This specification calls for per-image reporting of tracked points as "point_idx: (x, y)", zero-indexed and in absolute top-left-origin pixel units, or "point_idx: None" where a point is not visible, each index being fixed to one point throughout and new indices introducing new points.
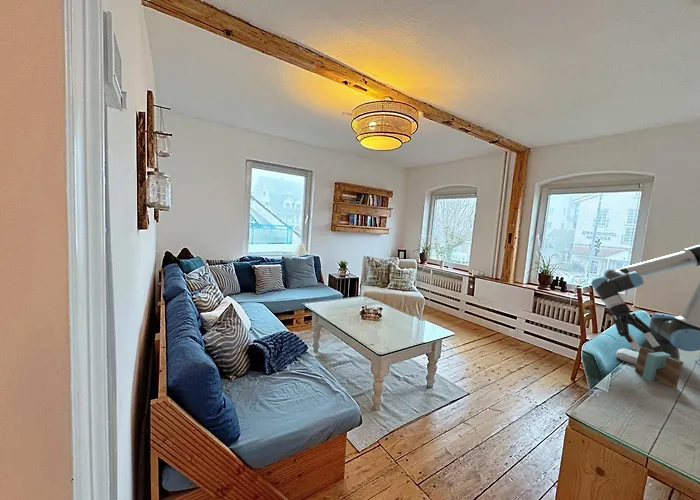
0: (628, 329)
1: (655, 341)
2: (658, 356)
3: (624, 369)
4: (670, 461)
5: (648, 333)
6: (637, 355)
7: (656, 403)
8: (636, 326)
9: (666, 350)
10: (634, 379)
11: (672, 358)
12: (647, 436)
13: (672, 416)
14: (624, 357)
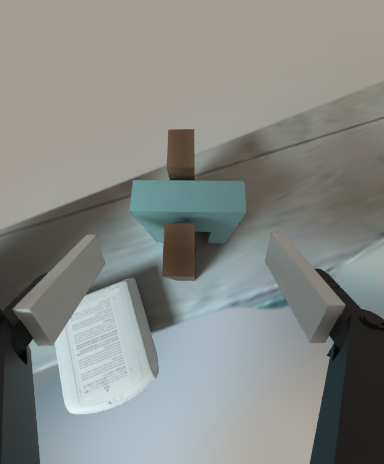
0: (346, 368)
1: (83, 250)
2: (225, 181)
3: (226, 293)
4: None
5: (42, 305)
6: (109, 325)
7: (328, 157)
8: (29, 455)
9: None
10: (263, 241)
11: (177, 156)
12: None
13: (342, 125)
14: (153, 346)
